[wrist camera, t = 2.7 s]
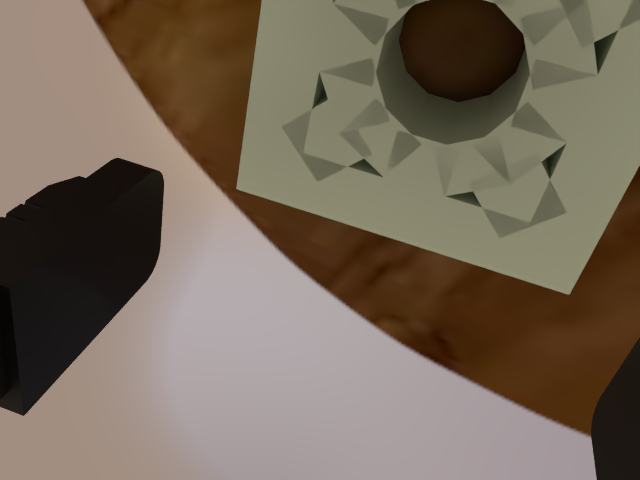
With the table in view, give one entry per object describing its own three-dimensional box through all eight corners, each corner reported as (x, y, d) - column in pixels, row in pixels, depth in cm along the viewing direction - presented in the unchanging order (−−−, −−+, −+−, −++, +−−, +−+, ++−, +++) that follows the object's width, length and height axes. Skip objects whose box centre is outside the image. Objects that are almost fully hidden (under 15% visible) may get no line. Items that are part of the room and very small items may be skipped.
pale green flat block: (733, -113, 20) (788, -110, 16) (561, 232, 28) (569, 294, 24) (334, -205, 22) (291, -222, 18) (275, 145, 30) (236, 189, 26)
